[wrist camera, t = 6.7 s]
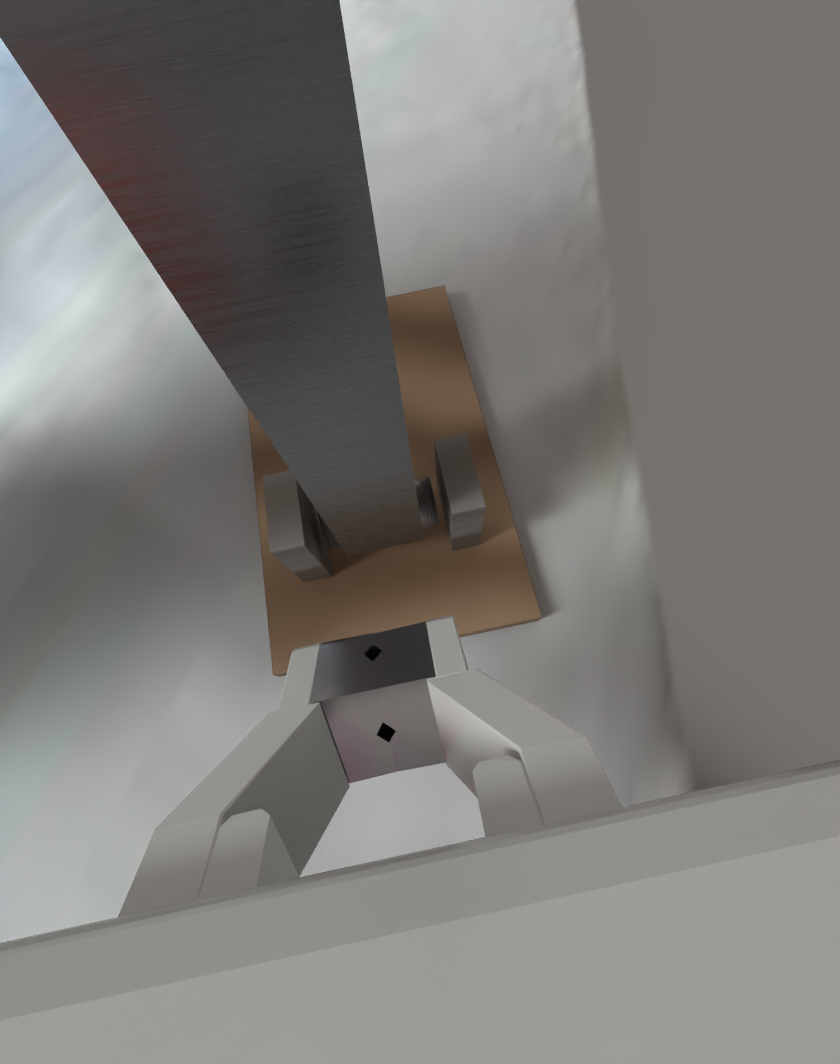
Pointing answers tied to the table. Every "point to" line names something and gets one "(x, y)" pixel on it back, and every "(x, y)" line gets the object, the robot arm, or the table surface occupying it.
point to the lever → (249, 220)
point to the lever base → (447, 550)
